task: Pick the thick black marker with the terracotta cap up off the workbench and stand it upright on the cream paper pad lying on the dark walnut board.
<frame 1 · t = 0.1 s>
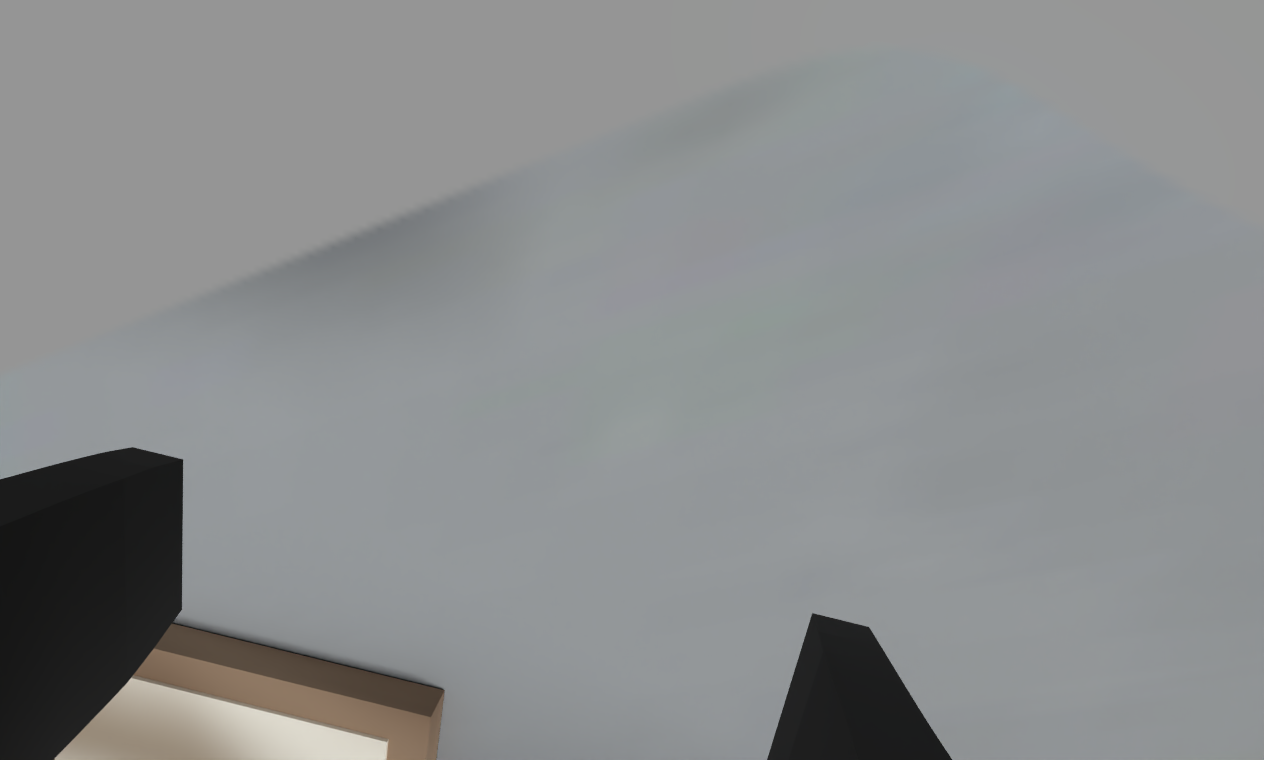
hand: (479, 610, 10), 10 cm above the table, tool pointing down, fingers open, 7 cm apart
walnut board: (236, 759, 26), on the table
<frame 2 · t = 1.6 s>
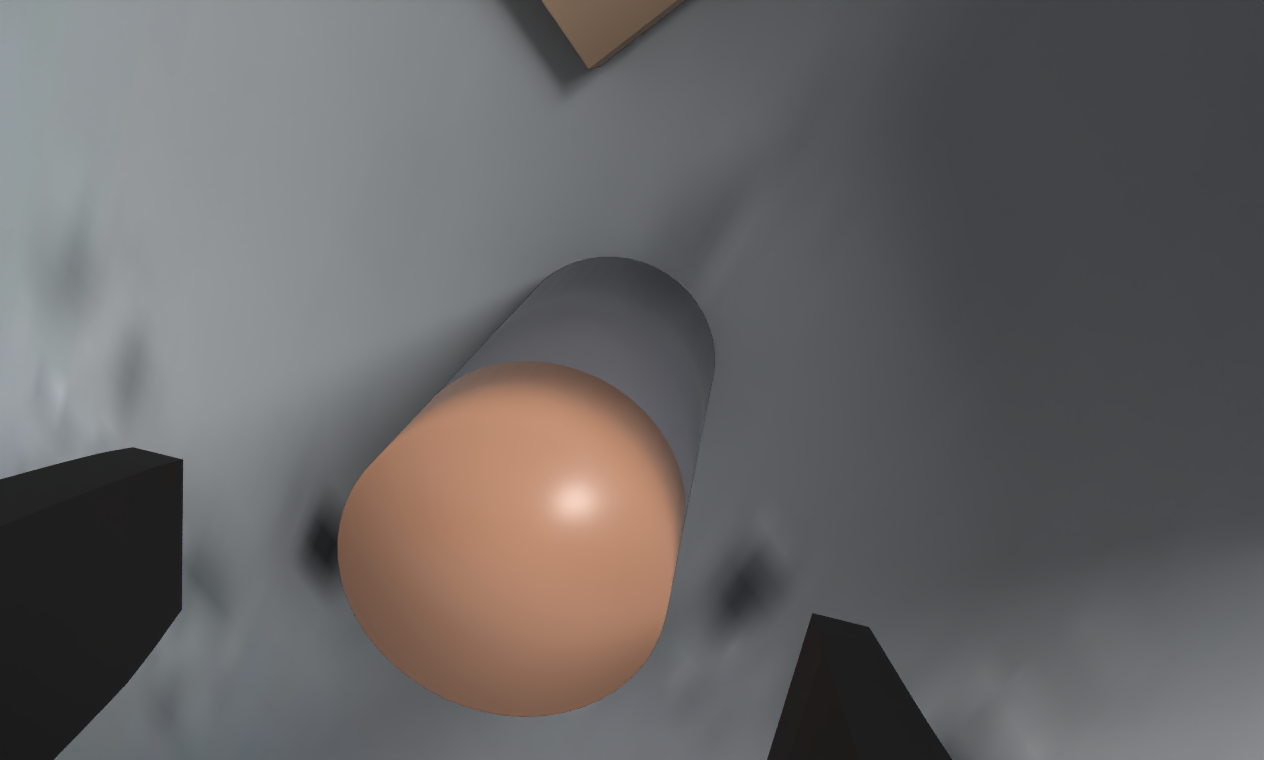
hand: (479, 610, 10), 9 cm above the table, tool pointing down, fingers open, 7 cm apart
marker: (612, 356, 18), on the table
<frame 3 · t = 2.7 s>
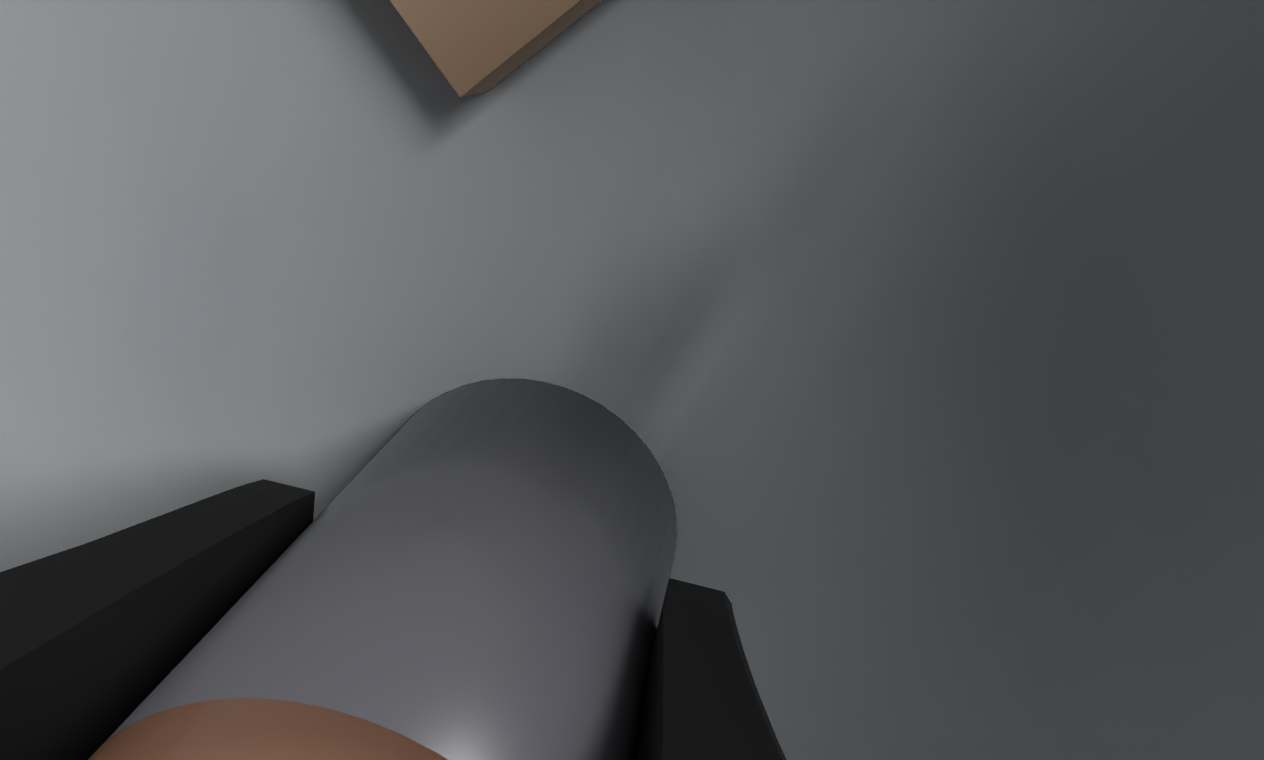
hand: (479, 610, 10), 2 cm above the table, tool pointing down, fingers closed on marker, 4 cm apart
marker: (524, 521, 12), on the table, touching gripper
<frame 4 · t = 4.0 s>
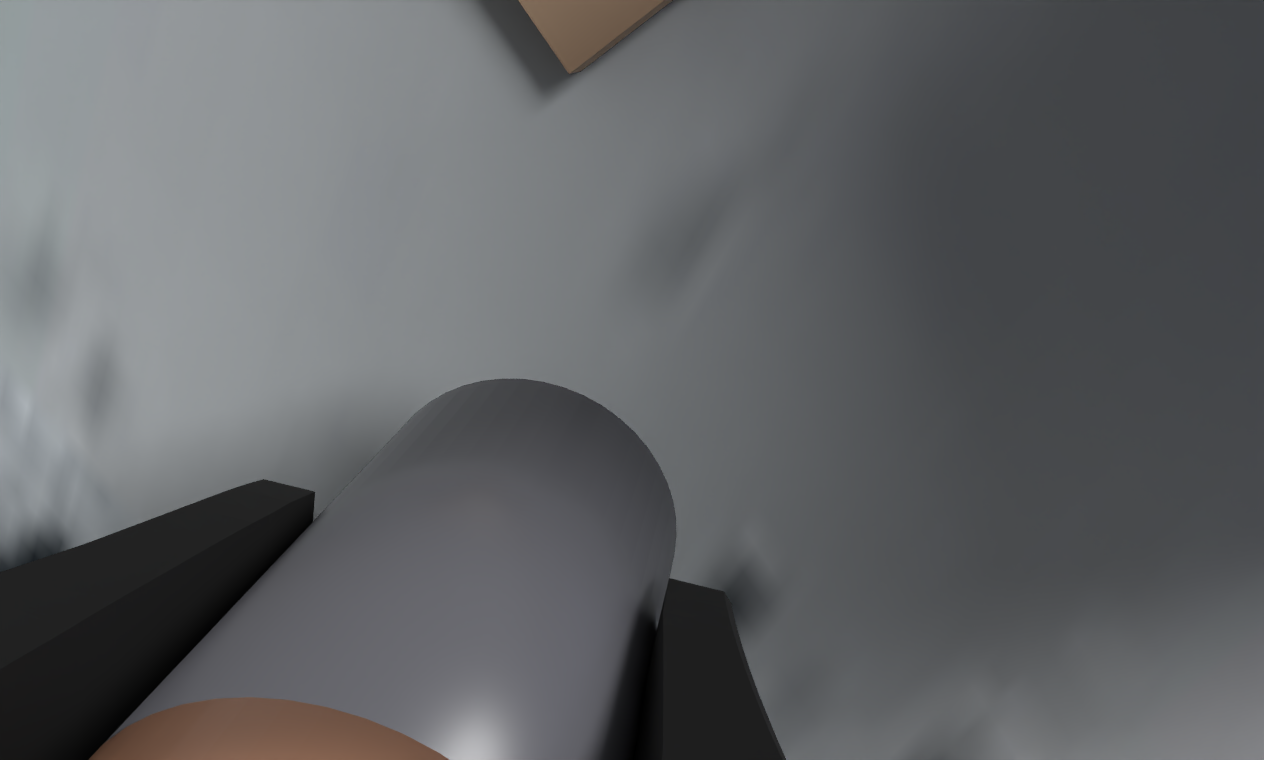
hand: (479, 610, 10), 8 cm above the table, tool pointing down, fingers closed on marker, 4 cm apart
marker: (524, 521, 12), point 6 cm above the table, touching gripper
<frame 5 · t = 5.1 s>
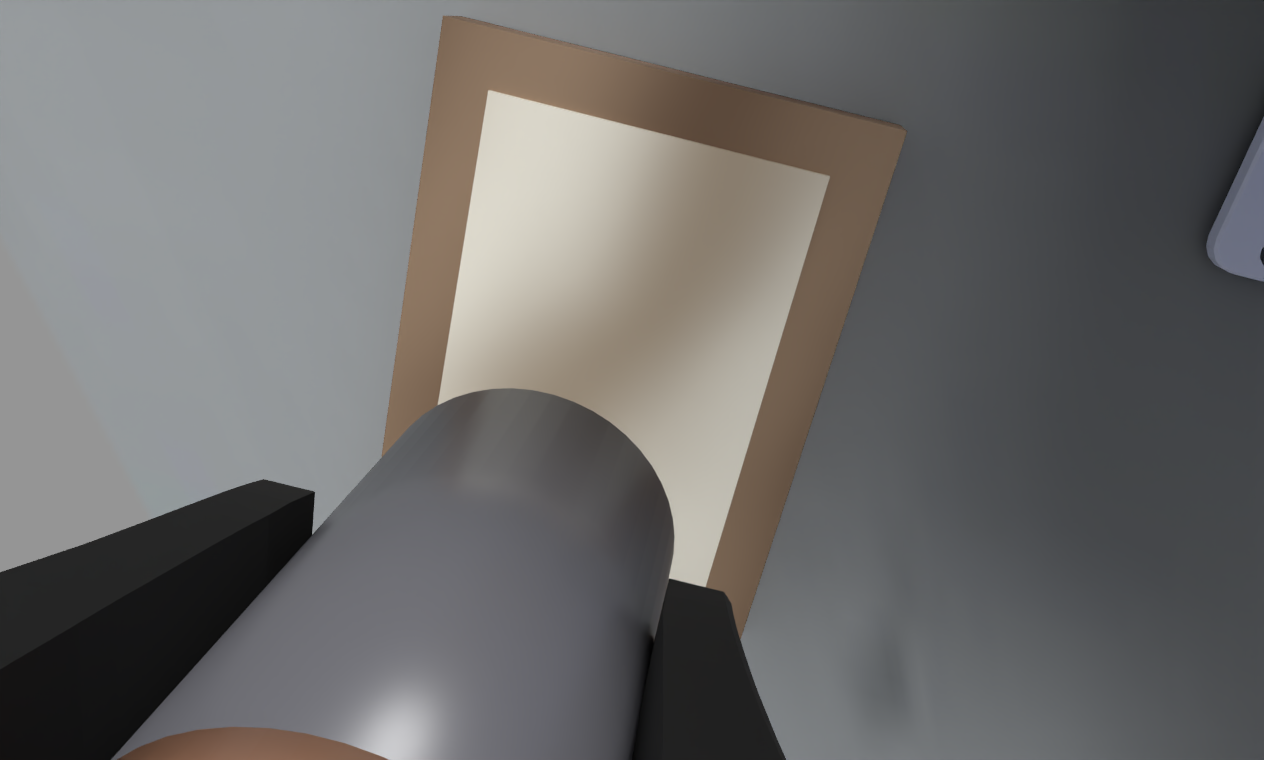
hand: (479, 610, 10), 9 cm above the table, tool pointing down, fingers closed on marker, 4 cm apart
walnut board: (611, 354, 19), on the table
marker: (523, 529, 12), point 7 cm above the table, touching gripper
when the fingers open (4 cm above the table, at t = 6.6 s): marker stays where it is, resting on walnut board.
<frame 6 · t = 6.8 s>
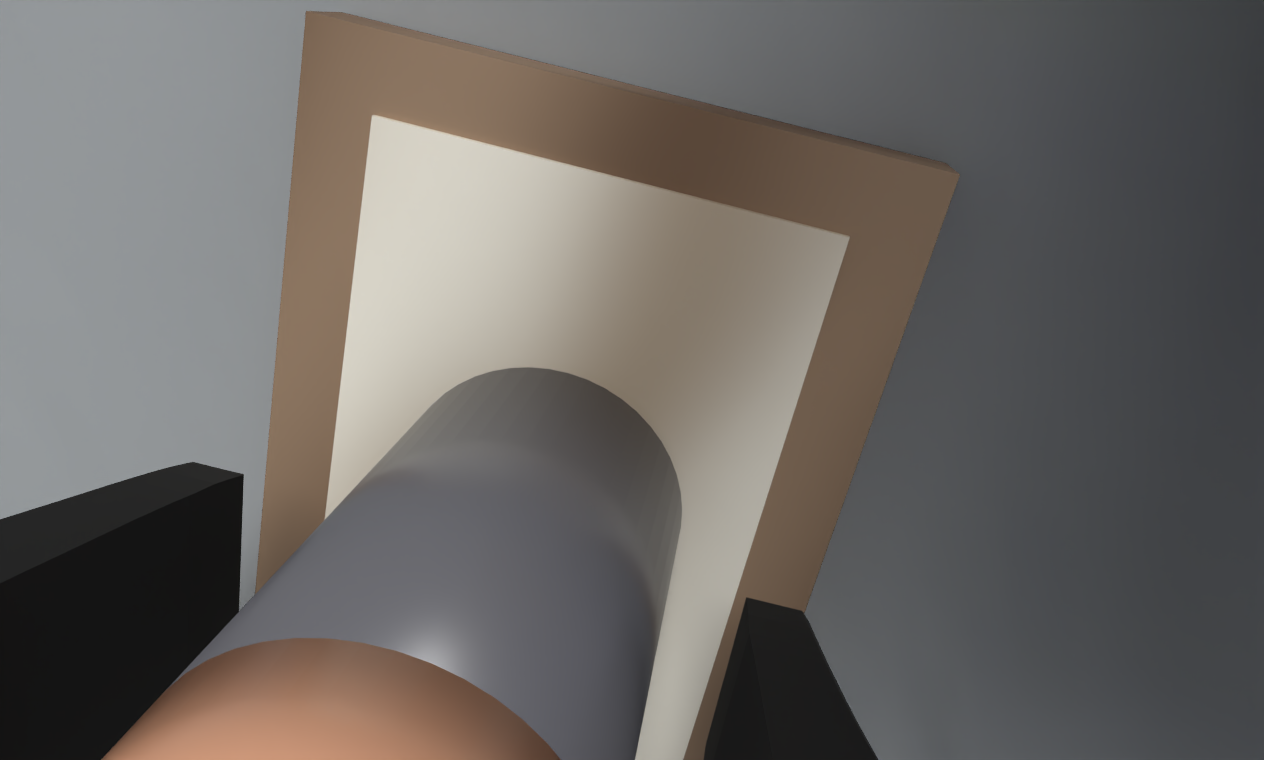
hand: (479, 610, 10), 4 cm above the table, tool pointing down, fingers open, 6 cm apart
walnut board: (556, 460, 14), on the table
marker: (538, 502, 13), point 1 cm above the table, touching walnut board
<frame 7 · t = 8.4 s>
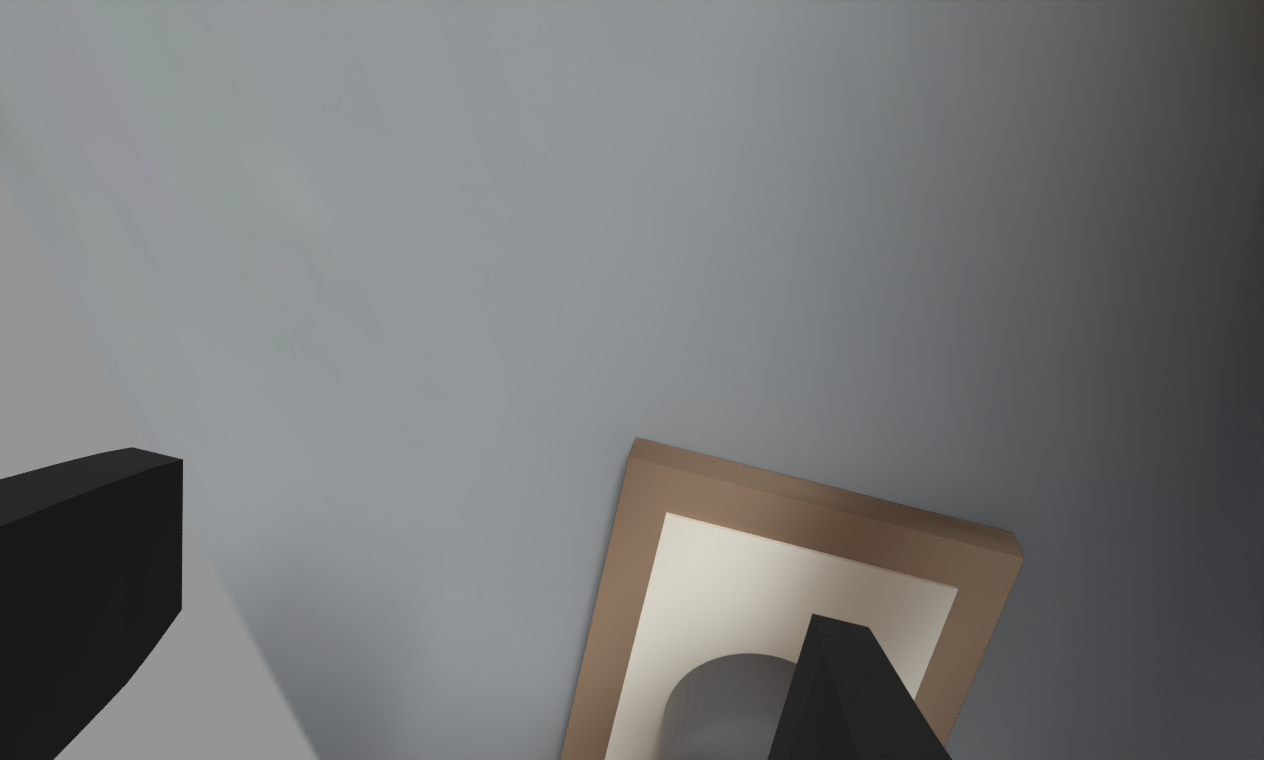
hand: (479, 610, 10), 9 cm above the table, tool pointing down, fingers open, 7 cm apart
walnut board: (756, 691, 22), on the table
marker: (754, 729, 21), point 1 cm above the table, touching walnut board
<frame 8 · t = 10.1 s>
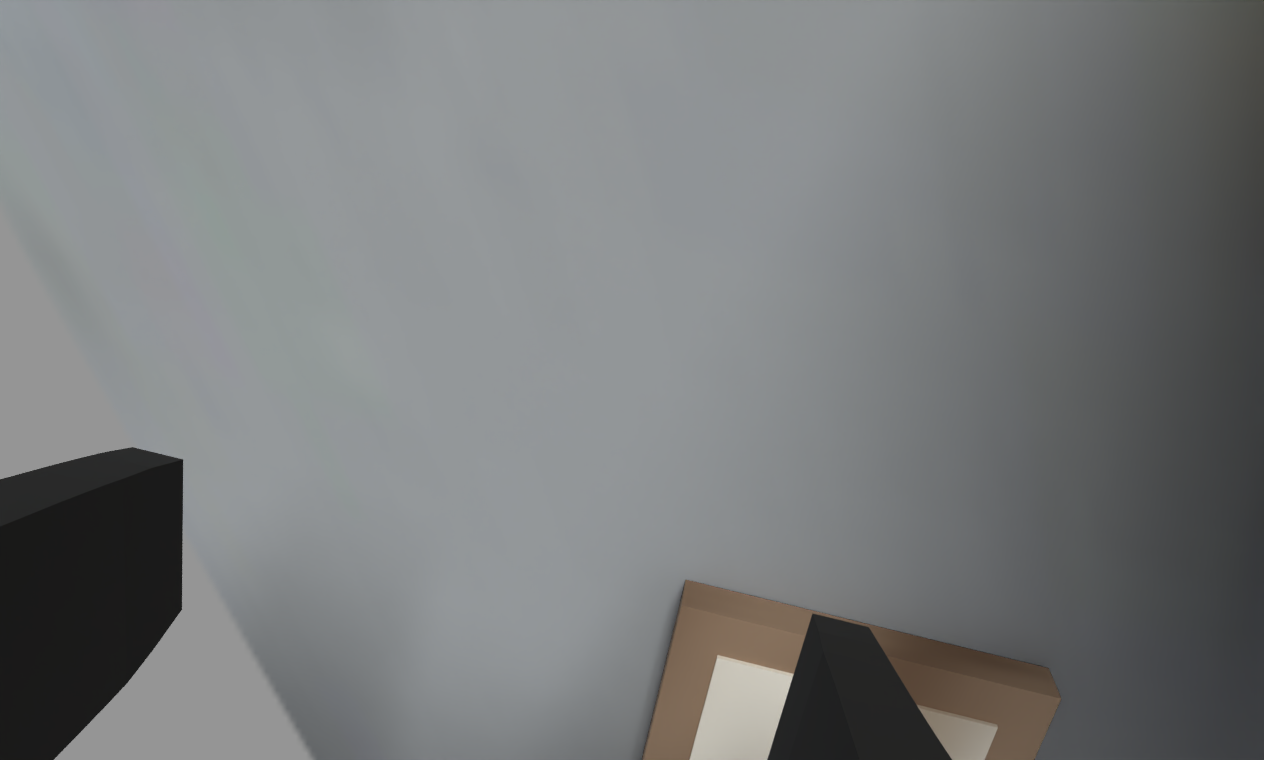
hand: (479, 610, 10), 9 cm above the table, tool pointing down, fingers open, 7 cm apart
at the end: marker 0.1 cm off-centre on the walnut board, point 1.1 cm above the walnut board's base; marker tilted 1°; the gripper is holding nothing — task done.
